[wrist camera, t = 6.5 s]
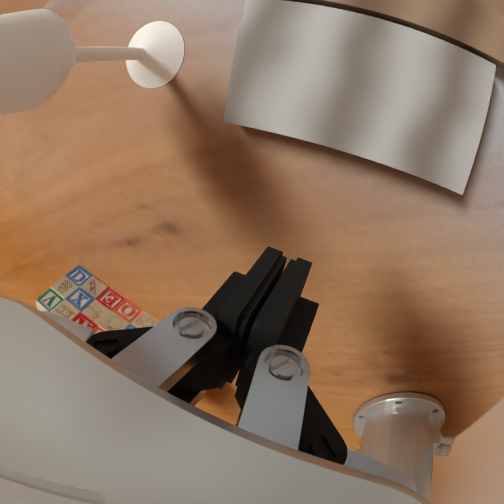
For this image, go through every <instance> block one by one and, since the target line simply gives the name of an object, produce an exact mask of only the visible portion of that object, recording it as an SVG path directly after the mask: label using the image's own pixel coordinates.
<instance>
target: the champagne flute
mask: <svg viewBox="0 0 504 504" xmlns="http://www.w3.org/2000/svg"><path fill="white" fill-rule="evenodd" d="M183 57H184V41H183V38H182V36H181V34H180V32H179V31H178V29H177V28H176V27H175V26H173V25H172V24H170V23H167V22H164V21H156V22H152V23H149V24H147V25H145V26H143V27H142V28H141V29H140V30H138V31H137V32H136V34H135V35H134V36H133V38H132V40H131V41H130V43H129V46H128V47H76V44H75V41H74V39H73V36H72V33H71V31H70V28H69V27H68V26H67V24H66V23H65V22H64V21H63V19H62V18H61V17H60V16H58V15H57V14H56V13H54V12H53V11H50V10H46V9H36V10H28V11H21V12H14V13H9V14H3V15H0V115H5V114H10V113H16V112H22V111H28V110H34V109H36V108H37V107H39V106H41V105H43V104H44V103H45V102H46V101H47V100H49V99H50V98H51V97H52V96H53V95H54V94H55V93H56V92H57V90H58V89H59V88H60V87H61V85H62V84H63V83H64V81H65V79H66V77H67V76H68V74H69V72H70V70H71V68H72V66H73V65H74V63H78V62H92V61H114V60H126V64H127V69H128V72H129V74H130V76H131V78H132V79H133V80H134V82H136V83H137V84H138V85H140V86H142V87H144V88H158V87H161V86H163V85H165V84H167V83H168V82H169V81H170V80H172V78H173V77H174V76H175V75H176V74H177V72H178V71H179V69H180V67H181V64H182V62H183Z"/></svg>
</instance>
